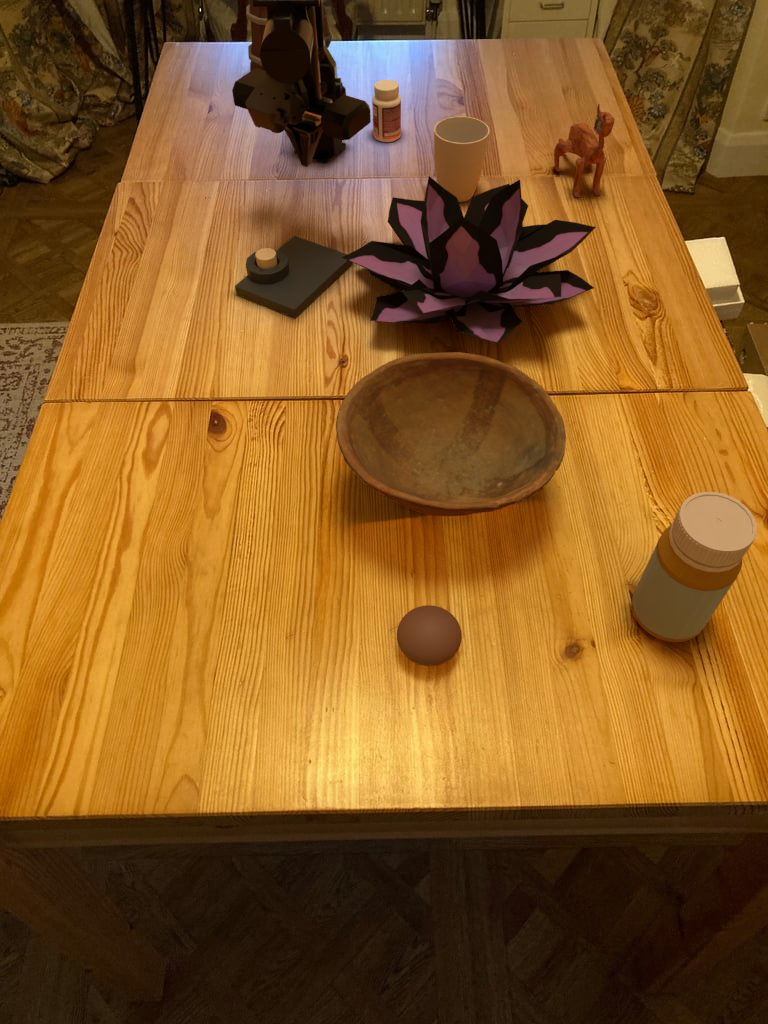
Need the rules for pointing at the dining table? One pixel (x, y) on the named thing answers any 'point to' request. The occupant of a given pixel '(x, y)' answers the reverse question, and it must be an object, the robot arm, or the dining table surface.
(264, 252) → the button
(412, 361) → the bowl
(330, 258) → the dark flat slab piece
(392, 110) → the pill bottle
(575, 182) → the orange animal figurine
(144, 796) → the dining table surface
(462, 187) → the cup
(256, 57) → the mug
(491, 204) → the decorative flower
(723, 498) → the bottle
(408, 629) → the brown flattened ball
